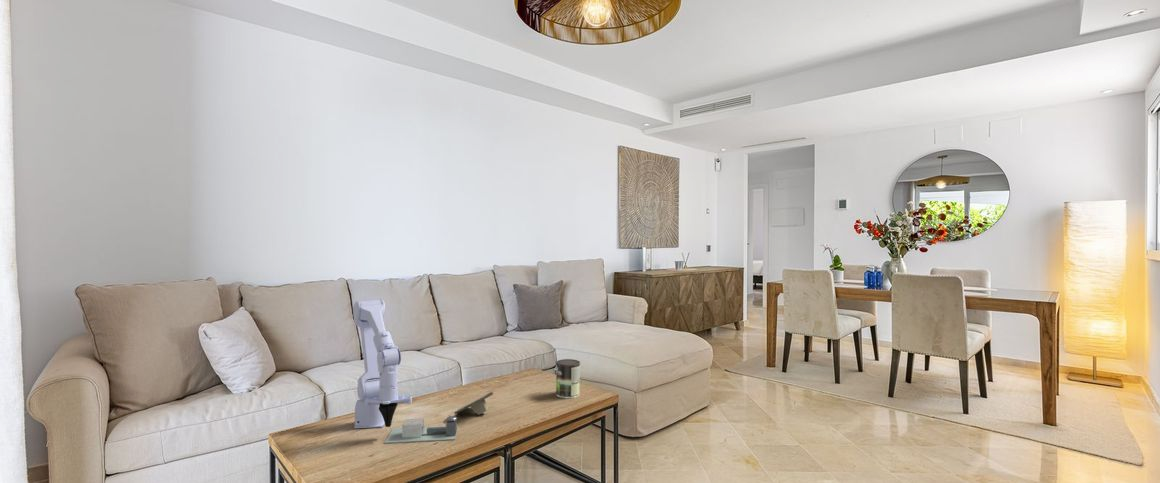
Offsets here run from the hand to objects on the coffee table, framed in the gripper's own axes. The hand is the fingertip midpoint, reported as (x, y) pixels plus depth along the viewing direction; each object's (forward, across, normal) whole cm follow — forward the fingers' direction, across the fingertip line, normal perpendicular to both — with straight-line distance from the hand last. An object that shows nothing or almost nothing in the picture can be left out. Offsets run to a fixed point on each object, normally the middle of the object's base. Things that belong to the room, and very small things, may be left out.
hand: (388, 425), depth 160 cm
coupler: (+4, +17, 0) cm, 18 cm away
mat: (+4, +11, +1) cm, 12 cm away
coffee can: (+4, +65, +37) cm, 75 cm away
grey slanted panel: (+4, +26, +19) cm, 32 cm away
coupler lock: (+3, +8, 0) cm, 9 cm away
